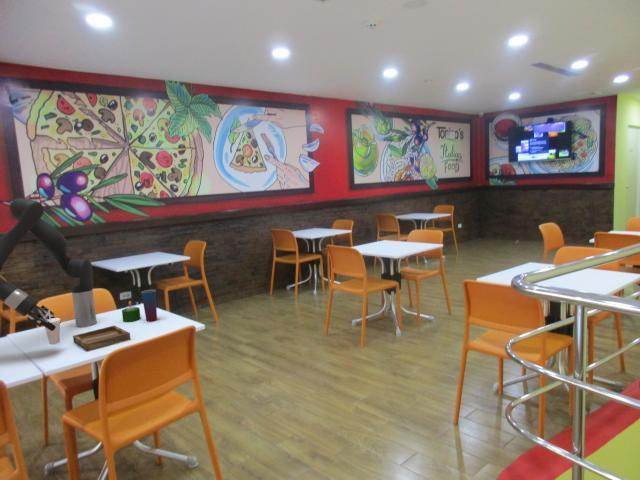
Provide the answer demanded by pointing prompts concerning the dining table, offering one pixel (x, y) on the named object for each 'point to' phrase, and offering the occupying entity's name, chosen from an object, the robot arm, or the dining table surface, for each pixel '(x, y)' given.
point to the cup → (150, 305)
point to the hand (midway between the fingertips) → (57, 326)
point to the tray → (101, 338)
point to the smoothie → (55, 334)
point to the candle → (131, 313)
